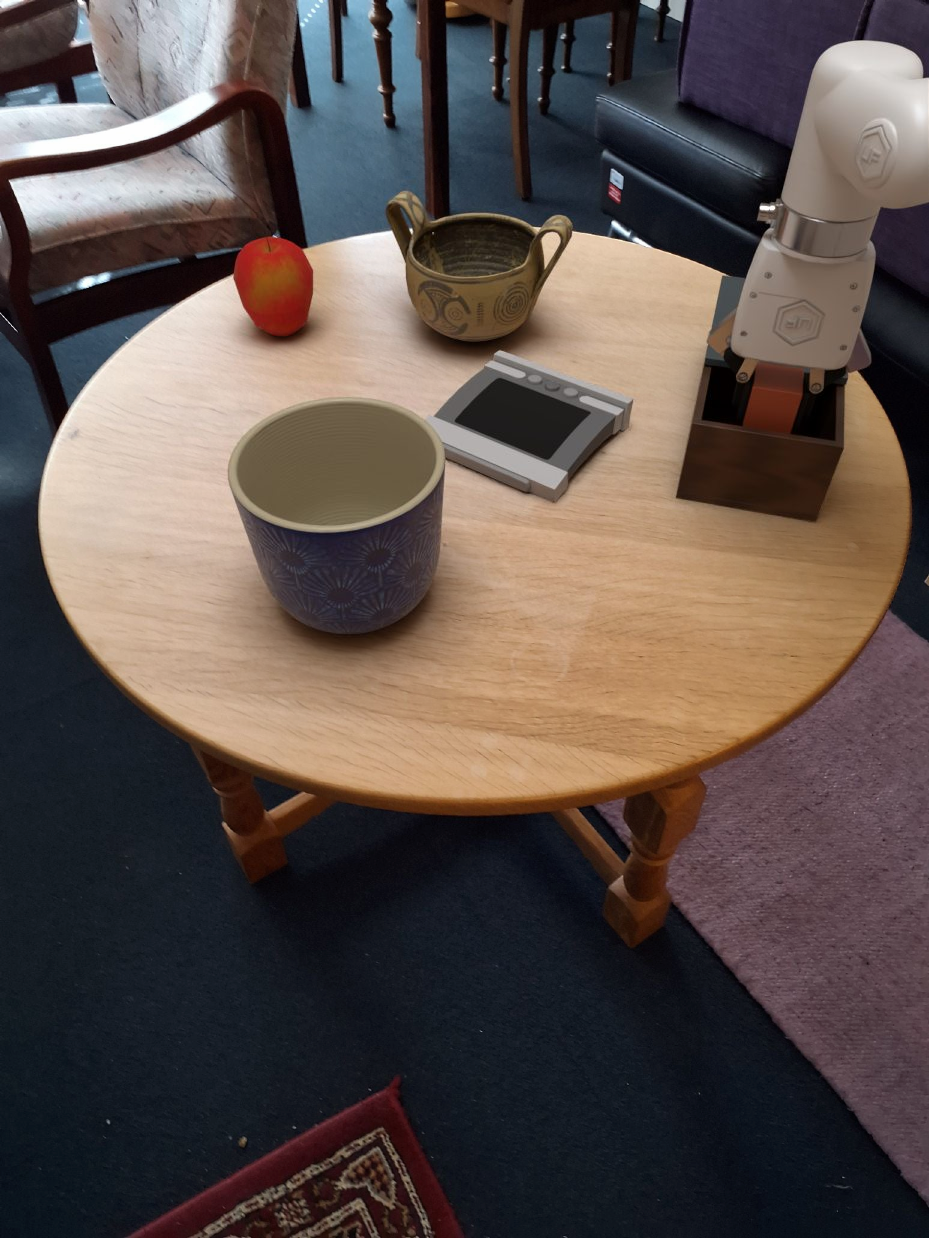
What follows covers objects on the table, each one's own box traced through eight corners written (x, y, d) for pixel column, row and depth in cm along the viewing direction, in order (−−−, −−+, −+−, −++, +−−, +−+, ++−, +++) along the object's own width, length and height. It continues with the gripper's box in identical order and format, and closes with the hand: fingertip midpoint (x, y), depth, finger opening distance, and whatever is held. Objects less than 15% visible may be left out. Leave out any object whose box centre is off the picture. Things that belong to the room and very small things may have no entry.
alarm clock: (633, 398, 95) (555, 468, 86) (626, 436, 99) (550, 507, 89) (499, 350, 102) (413, 409, 92) (497, 386, 105) (413, 447, 96)
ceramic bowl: (582, 314, 114) (594, 194, 103) (535, 383, 104) (542, 258, 92) (424, 281, 120) (419, 164, 109) (364, 343, 110) (352, 221, 98)
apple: (239, 350, 109) (218, 254, 100) (253, 312, 115) (234, 218, 106) (315, 350, 109) (301, 254, 100) (325, 312, 115) (312, 219, 106)
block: (792, 408, 86) (804, 368, 83) (790, 434, 84) (802, 394, 80) (745, 401, 87) (756, 361, 84) (742, 427, 84) (752, 387, 81)
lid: (846, 298, 98) (858, 261, 95) (845, 385, 87) (859, 347, 84) (720, 281, 101) (728, 246, 98) (703, 364, 89) (712, 327, 86)
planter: (377, 506, 89) (363, 372, 78) (487, 601, 80) (489, 466, 69) (226, 584, 82) (187, 449, 71) (329, 697, 73) (303, 564, 62)
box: (820, 419, 98) (845, 346, 92) (815, 522, 87) (844, 447, 80) (695, 400, 101) (711, 327, 94) (675, 497, 90) (691, 423, 83)
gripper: (712, 233, 71) (673, 425, 84) (937, 259, 68) (860, 454, 81) (721, 194, 76) (683, 382, 89) (932, 217, 72) (860, 408, 86)
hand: (768, 414), depth 85 cm, fingers closed on block, 4 cm apart
